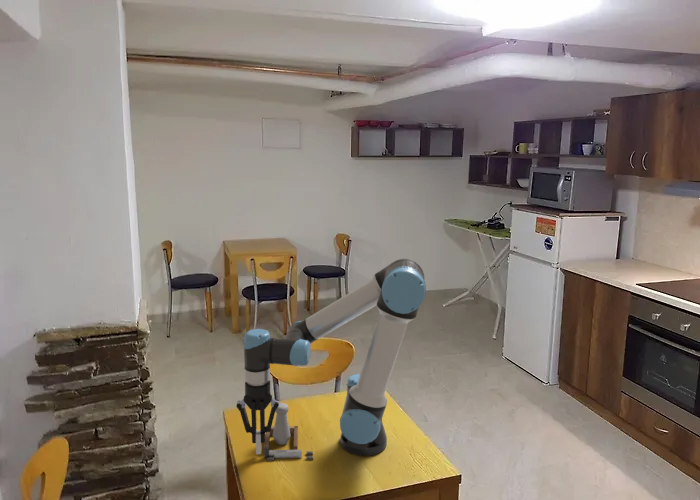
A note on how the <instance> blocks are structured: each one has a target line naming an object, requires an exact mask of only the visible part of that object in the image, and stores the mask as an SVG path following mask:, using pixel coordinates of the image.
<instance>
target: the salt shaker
mask: <svg viewBox="0 0 700 500" xmlns="http://www.w3.org/2000/svg"><path fill="white" fill-rule="evenodd" d="M288 412H289V405H288V404H287V403H285V402H279V406H278V408H277V409H276V410H275V414H276V415H275V421H274V424H273V425H274V426H273V427H274V430H273V435H272V438H273V440H274V442H275V443H276V445H279V446H284V445H286V444H288V442H289V440H290V438H291V436H292V435H291V434H290V429H289V426H290V425H289V419H288Z"/></svg>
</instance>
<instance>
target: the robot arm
mask: <svg viewBox="0 0 700 500" xmlns="http://www.w3.org/2000/svg"><path fill="white" fill-rule="evenodd" d="M426 293H427V284H426V281H425V273H424V270H423V269H422V267H421V265H420V264H419V263H417V262H416V261H415V260H412V259H410V258H409V259H408V258H400V259H397V260H395V261H394V260H393V262H391V263H390V264H388V265H386V266H385V267H384V268H382V269H380V270H379V271H377V272H376V273H374V274H373V278H372V279H370V280H369V281H367V282H365V283H364V284H362V285H360V286H359V287H357V288H356V289H354V290H351V292H349V293H347V294H345V295H344V296H342V297H340V298H338V299H337V300H334V302H332V303H330V304H329V305H327V306H325V307H323V308H321V309H320V310H318V311H317V312H314V313H313V314H312V315H309V316H308V317H307V318H305V319H303V320H299V321H296V322H294V323H293V324H292V325H291V326H290V327H289V328H288V330H287V333H286V335H285V336H284V337H283V338H277V337H271V335H270V334H271V333H270V332H269V330H267V329H263V328H253V329H249V330H248V331H246V332H245V334H244V336H243V337H244V339H243V340H244V341H243V352H244V353H243V356H244V357H243V358H244V396H243V399H241V400H237V402H236V408H237V410H238V411H239V412H240V417H241V420H242V424H243V426H244V430H245V433H247V434H249V433H250V434H251V443H252V444H255V454H256V455H262V451H263V450H262V444H265V436H266V432H270V430H271V427H273V425H272V424H273V423H274V422H273V421H274V418H275V414H276V412H275V410H276V409H277V408H278V406H279V403H280V400H279V399H274V397H273V395H272V393H271V365H281V366H282V365H284V366H294V367H298V366H300V367H301V366H302V367H303V366H307V365H308V364H309V363H310V359H311V353H312V348H311V347H312V346H311V345H312V344H313V343H314V342H316V341H318V340H320V339H321V338H323V337H325V336H326V335H329V334H330V333H331V332H333V331H335V330H336V329H338V328H340V327H342V326H343V325H345V324H347V323H349V322H351V321H352V320H353V319H355V318H357V317H359V316H360V315H362V314H364V313H366V312H368V311H369V310H371V309H374V308H375V307H376V308H377V310H378V312H379V313H378V316H377V320H376V323H375V326H374V329H373V333H372V335H371V339H370V342H369V345H368V346H367V347H368V348H367V351H366V355H365V358H364V361H363V363H362V367H361V370H360V373H356V374H353V375H350V376H349V377H348V378H347V382H346V387H347V388H346V389H347V390H346V397H345V401H344V405H343V409H342V414H341V416H340V418H339V427H340V428H339V429H340V432H341V433H340V441H339V443H340V446H341V448H342V449H344V451H346V452H347V453H350V454H353V455H355V456H363V457H364V456H374V455H376V454H377V455H378V454H380V453H381V452H383V451H384V450H385V449H386V448H387V444H388V440H387V439H388V437H387V433H386V430H385V426H384V424H383V418H384V414H385V410H386V407H387V405H388V398H387V396H386V394H385V393H386V391H387V388H388V384H389V382H390V378H391V376H392V373H393V370H394V367H395V365H396V361H397V357H398V356H399V355H398V354H399V352H400V349H401V346H402V343H403V340H404V337H405V334H406V331H407V328H408V325H409V322H411V321H413V320H415V319H416V318H417V315H418V312H419V310H420V307H421V305H423V302H424V301H425V297H426V295H427V294H426ZM269 405H270V406H271V409H270V412H269V417H268V420H267V423H266V415H265V413H266V411H265V409H266V408H267V407H268V406H269ZM246 406H247V407H248V408H249V409H250V412H251V413H250V414H251V424H250V420H249V417H248V413H247V410H246ZM266 410H267V409H266ZM257 411H259V423H260V427H259V428H260V429H257ZM266 424H267V425H266Z"/></svg>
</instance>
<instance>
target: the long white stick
mask: <svg viewBox="0 0 700 500" xmlns="http://www.w3.org/2000/svg"><path fill="white" fill-rule="evenodd" d="M263 446H264V445H263ZM302 454H303V453H302V449H298V450H294V449H273V450H272V449H270V445H269V446H264V447H263V457H264V459H267V457H274V459H295V458H296V459H297V458H302V456H303V455H302Z"/></svg>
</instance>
